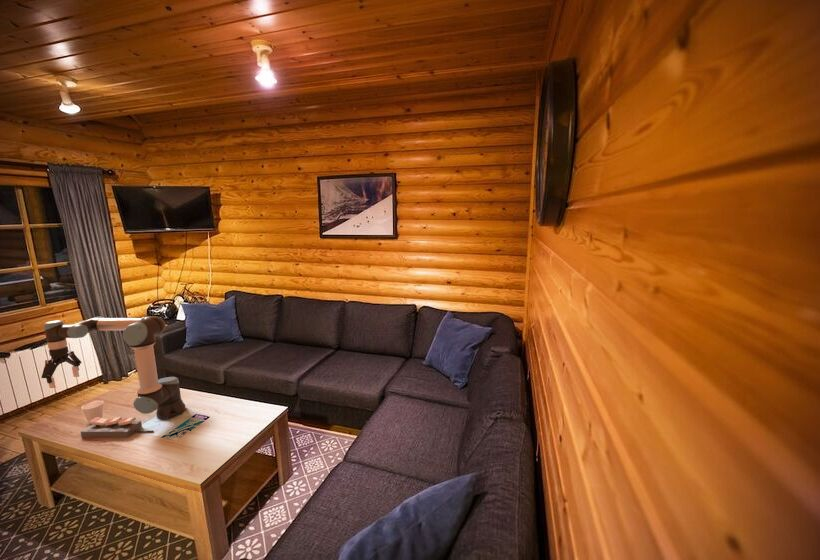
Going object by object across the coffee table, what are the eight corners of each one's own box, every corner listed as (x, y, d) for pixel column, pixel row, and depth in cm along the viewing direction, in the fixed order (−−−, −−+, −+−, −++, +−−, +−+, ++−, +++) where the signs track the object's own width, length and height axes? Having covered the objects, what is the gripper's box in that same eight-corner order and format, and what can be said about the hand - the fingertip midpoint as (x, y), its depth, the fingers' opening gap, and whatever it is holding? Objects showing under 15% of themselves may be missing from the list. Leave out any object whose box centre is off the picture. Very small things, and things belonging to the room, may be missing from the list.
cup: (92, 427, 197) (89, 410, 195) (79, 425, 199) (76, 408, 197) (110, 417, 206) (107, 401, 204) (98, 415, 208) (95, 399, 206)
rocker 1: (108, 421, 194) (108, 419, 194) (102, 425, 191) (102, 423, 190) (96, 419, 194) (96, 416, 194) (89, 423, 190) (90, 420, 190)
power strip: (159, 426, 197) (158, 419, 196) (146, 437, 187) (145, 429, 186) (98, 427, 197) (96, 419, 196) (81, 438, 187) (80, 429, 186)
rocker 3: (136, 419, 194) (135, 416, 194) (130, 423, 190) (129, 420, 190) (124, 421, 195) (123, 418, 194) (118, 425, 191) (117, 423, 190)
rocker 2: (122, 419, 194) (121, 416, 194) (116, 423, 190) (115, 420, 190) (111, 421, 194) (110, 419, 194) (104, 425, 191) (103, 423, 190)
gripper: (73, 339, 202) (79, 372, 206) (26, 356, 177) (34, 392, 181) (85, 339, 202) (91, 372, 206) (40, 356, 177) (48, 392, 181)
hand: (65, 382), depth 193 cm, fingers open, 13 cm apart
